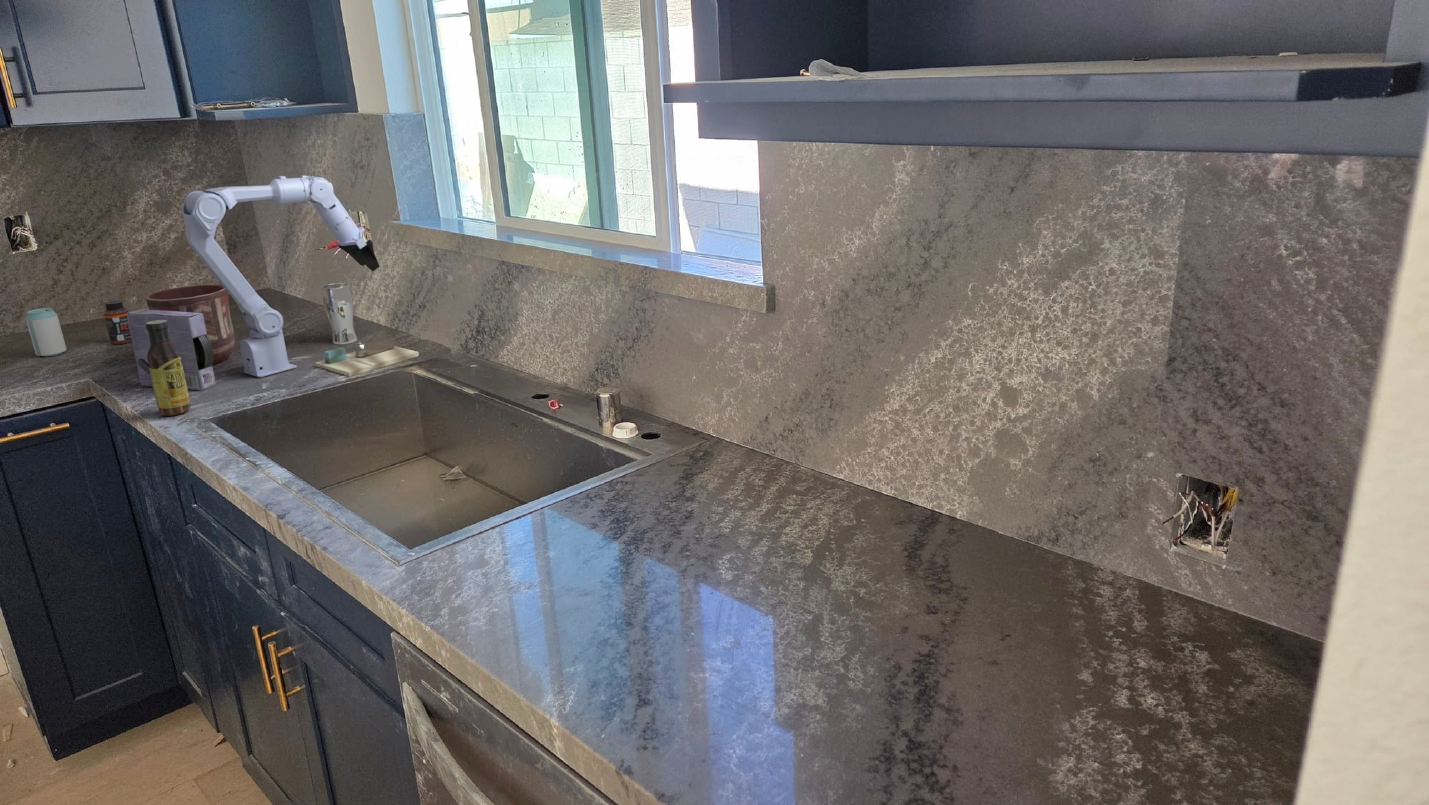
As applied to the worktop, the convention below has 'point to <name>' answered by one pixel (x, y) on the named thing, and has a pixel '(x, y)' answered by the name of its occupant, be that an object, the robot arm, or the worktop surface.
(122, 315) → the supplement bottle
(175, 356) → the sauce bottle
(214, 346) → the pottery
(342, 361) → the board
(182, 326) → the cake pan box
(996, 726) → the worktop surface
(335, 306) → the beer glass
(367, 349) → the swing bar
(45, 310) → the can
